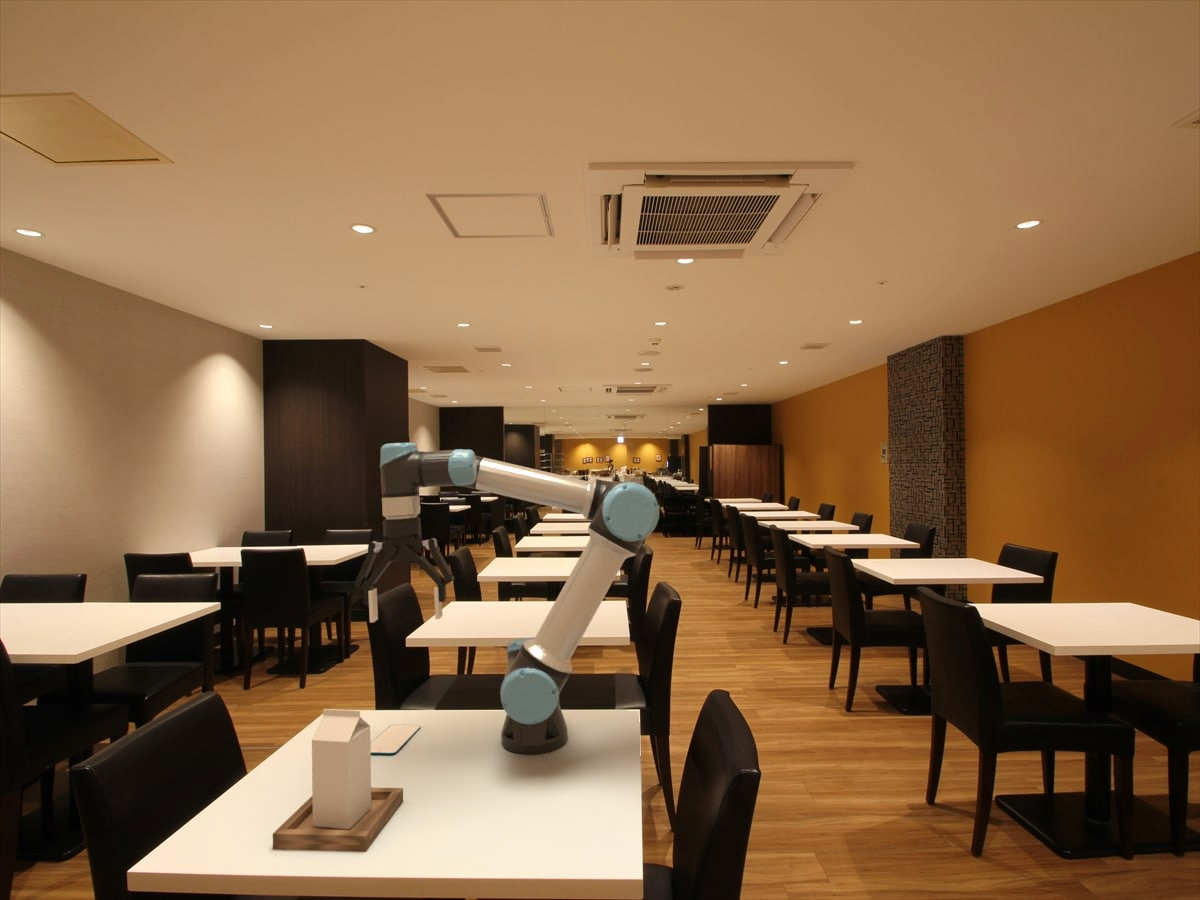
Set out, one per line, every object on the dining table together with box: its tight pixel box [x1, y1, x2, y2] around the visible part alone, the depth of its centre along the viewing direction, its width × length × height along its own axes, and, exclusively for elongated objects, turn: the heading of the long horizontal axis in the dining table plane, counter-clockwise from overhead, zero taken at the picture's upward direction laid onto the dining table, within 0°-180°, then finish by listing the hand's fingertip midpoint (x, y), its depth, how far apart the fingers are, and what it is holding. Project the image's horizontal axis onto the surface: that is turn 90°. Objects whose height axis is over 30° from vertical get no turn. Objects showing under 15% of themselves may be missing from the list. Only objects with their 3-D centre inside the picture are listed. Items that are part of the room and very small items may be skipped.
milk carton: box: [311, 708, 372, 829], centre depth 116 cm, size 7×7×19 cm
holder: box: [272, 787, 404, 852], centre depth 116 cm, size 16×16×2 cm
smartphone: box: [370, 724, 421, 757], centre depth 151 cm, size 8×1×16 cm
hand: (406, 619), depth 135 cm, fingers open, 13 cm apart
